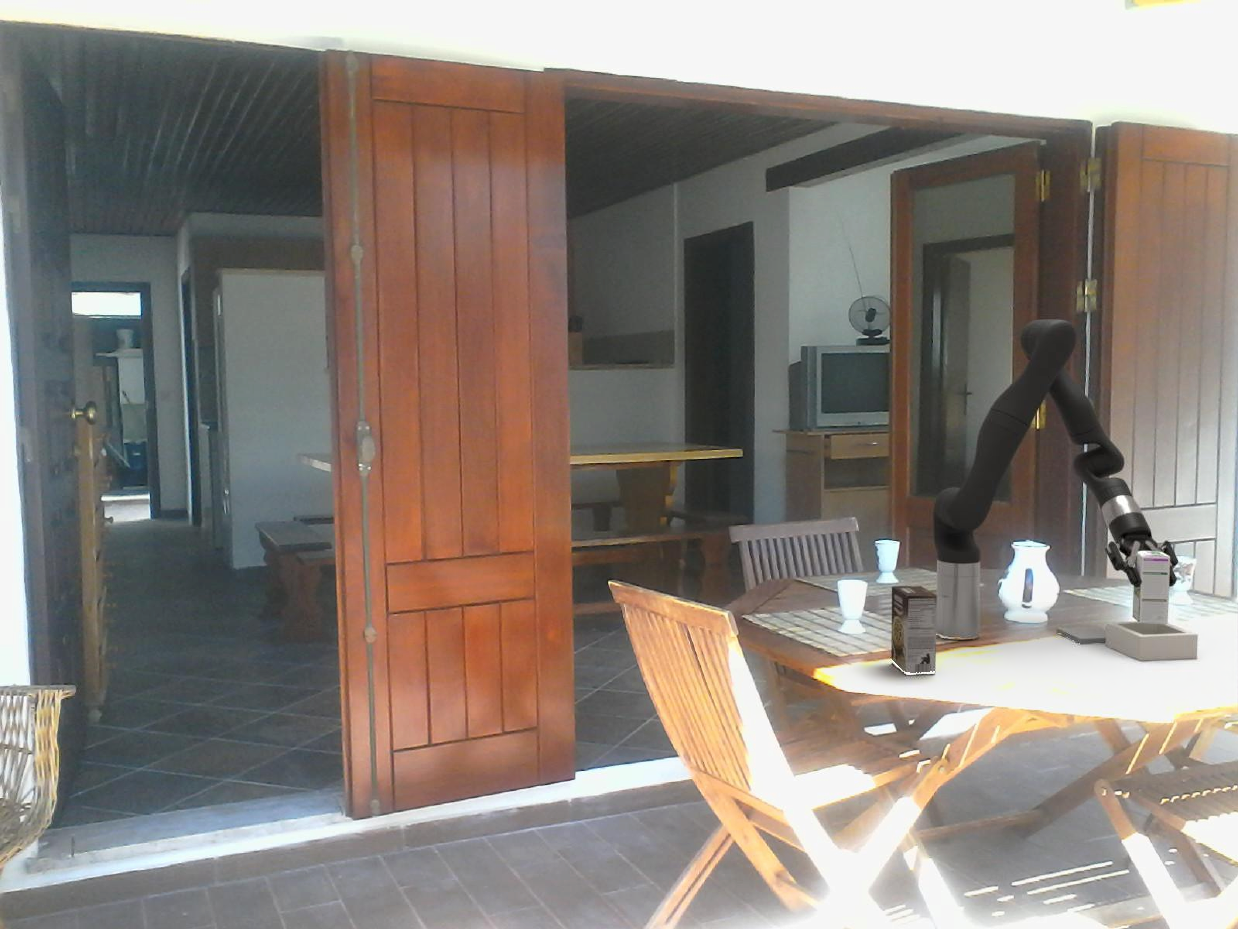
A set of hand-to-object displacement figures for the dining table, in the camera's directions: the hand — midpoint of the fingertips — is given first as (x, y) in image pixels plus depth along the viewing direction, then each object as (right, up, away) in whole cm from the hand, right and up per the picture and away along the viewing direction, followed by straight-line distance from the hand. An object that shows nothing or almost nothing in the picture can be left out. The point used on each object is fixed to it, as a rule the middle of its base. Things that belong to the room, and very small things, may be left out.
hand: (1155, 584), depth 226 cm
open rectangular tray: (0, -14, +3) cm, 15 cm away
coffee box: (-53, -16, -9) cm, 56 cm away
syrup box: (0, -8, +2) cm, 8 cm away
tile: (-7, -13, +15) cm, 21 cm away
